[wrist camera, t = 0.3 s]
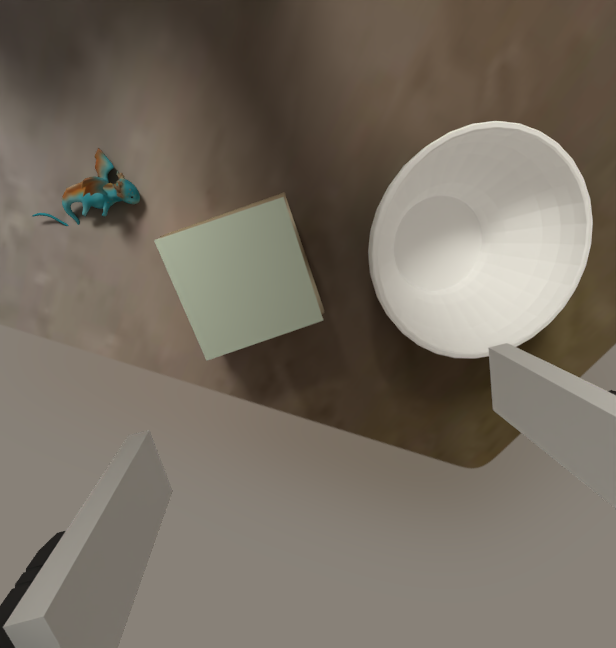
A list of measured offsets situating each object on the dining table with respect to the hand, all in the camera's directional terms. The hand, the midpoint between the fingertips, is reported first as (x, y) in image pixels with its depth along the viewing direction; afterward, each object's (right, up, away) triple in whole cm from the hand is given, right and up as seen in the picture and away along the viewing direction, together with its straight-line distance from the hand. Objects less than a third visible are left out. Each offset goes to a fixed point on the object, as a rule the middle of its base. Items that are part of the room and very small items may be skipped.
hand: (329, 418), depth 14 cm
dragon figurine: (-21, +16, +22) cm, 34 cm away
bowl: (+13, +12, +26) cm, 32 cm away
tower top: (-7, +8, +21) cm, 23 cm away
